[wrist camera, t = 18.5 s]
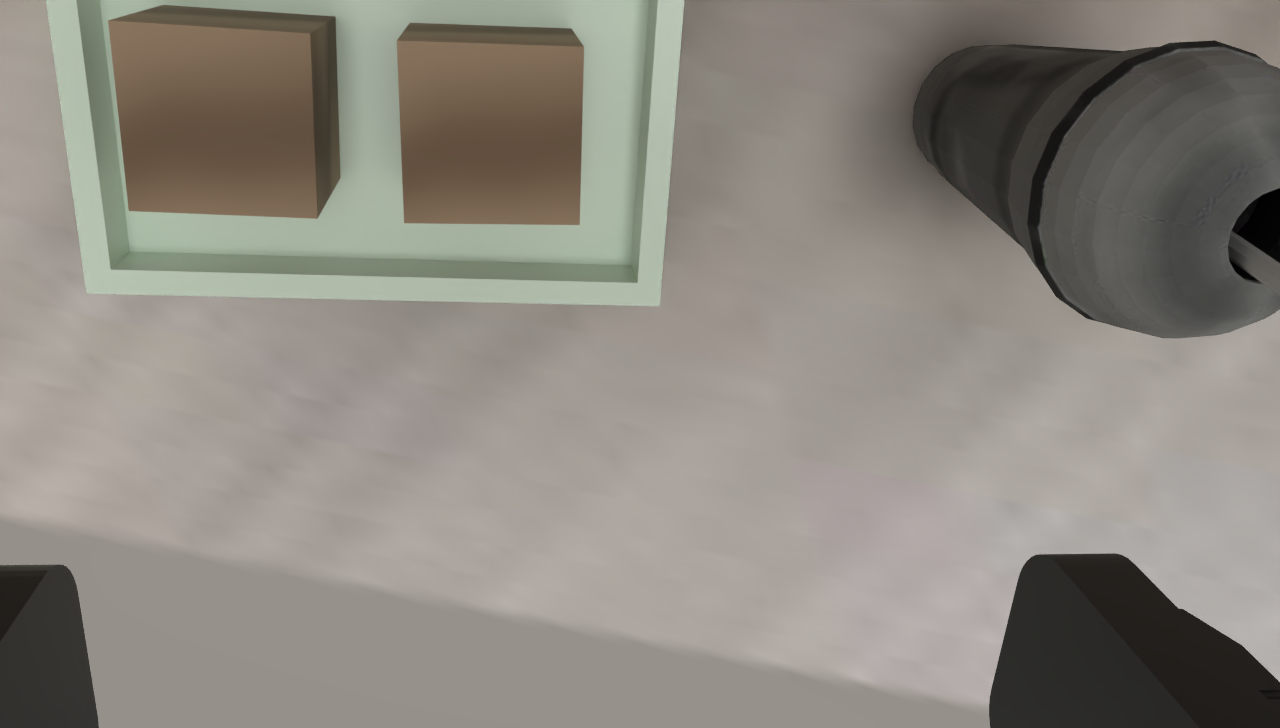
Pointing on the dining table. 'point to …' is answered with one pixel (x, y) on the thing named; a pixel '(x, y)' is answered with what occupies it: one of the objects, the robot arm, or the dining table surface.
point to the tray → (392, 171)
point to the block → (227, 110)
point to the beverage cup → (1122, 174)
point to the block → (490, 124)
